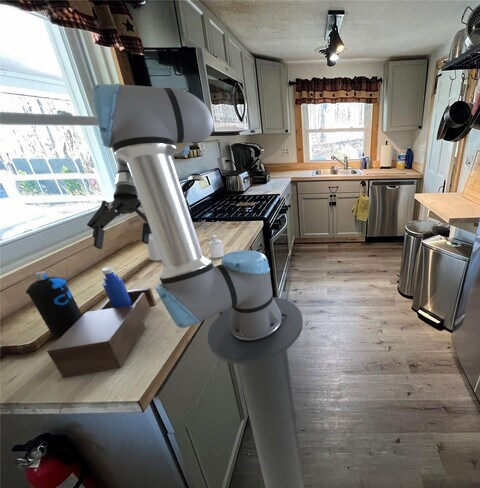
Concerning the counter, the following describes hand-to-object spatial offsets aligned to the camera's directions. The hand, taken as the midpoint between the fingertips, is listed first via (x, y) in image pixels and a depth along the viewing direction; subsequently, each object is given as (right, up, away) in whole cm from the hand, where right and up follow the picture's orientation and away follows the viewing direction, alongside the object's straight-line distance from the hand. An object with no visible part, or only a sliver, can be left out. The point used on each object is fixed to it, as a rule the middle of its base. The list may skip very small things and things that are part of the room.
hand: (121, 245), depth 83 cm
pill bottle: (-15, -6, +43) cm, 46 cm away
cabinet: (+6, -29, -12) cm, 32 cm away
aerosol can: (-14, -26, -3) cm, 30 cm away
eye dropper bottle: (+14, -6, +42) cm, 44 cm away
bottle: (+3, -23, -2) cm, 23 cm away
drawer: (+3, -23, +1) cm, 23 cm away
